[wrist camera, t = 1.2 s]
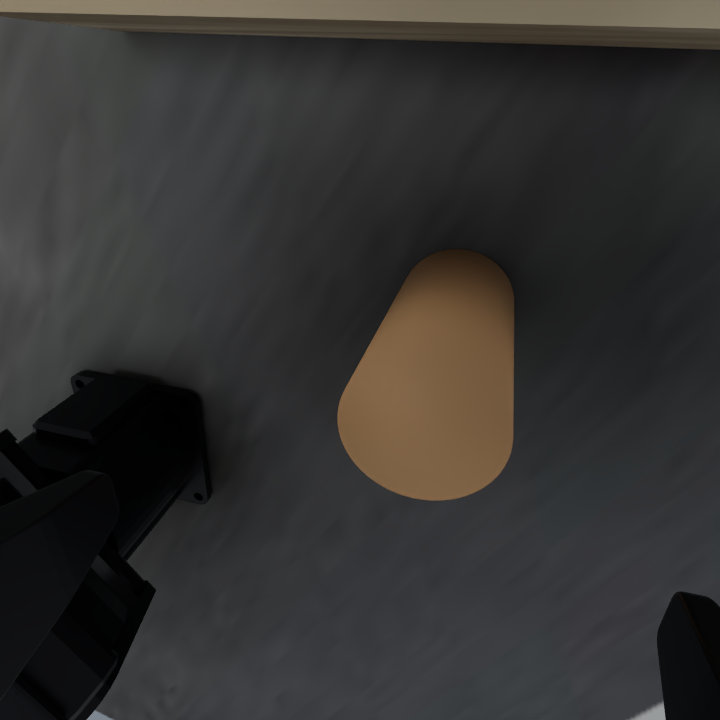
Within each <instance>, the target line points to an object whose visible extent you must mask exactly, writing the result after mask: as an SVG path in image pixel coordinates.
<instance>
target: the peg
mask: <svg viewBox="0 0 720 720" xmlns="http://www.w3.org/2000/svg"><path fill="white" fill-rule="evenodd" d="M513 410H514V294H513V289H512V286H511V283H510V281H509V279H508V277H507V276H506V274H505V273H504V271H503V270H502V269H501V268H500V267H499V266H498V265H497V264H496V263H495V262H494V261H493V260H491V259H489V258H488V257H486V256H484V255H482V254H480V253H477V252H474V251H471V250H465V249H448V250H443V251H439V252H436V253H434V254H431V255H430V256H428V257H426V258H424V259H423V260H421V261H420V262H419V263H418V264H417V265H416V266H415V267H414V268H413V269H412V270H411V272H410V273H409V275H408V276H407V278H406V280H405V282H404V283H403V285H402V287H401V289H400V291H399V292H398V294H397V296H396V298H395V300H394V301H393V303H392V305H391V307H390V309H389V310H388V312H387V314H386V316H385V318H384V319H383V321H382V323H381V325H380V327H379V328H378V330H377V332H376V334H375V336H374V338H373V339H372V341H371V343H370V345H369V347H368V348H367V350H366V352H365V354H364V356H363V357H362V359H361V361H360V363H359V365H358V366H357V368H356V370H355V372H354V374H353V375H352V377H351V379H350V381H349V383H348V384H347V386H346V388H345V390H344V392H343V394H342V397H341V399H340V403H339V407H338V415H337V420H338V429H339V434H340V437H341V440H342V443H343V445H344V447H345V449H346V451H347V453H348V455H349V456H350V458H351V459H352V461H353V462H354V463H355V464H356V465H357V466H358V468H359V469H360V470H361V471H362V472H364V473H365V474H366V475H367V476H368V477H369V478H371V479H372V480H373V481H375V482H376V483H378V484H379V485H381V486H383V487H384V488H387V489H389V490H391V491H393V492H395V493H398V494H401V495H403V496H407V497H411V498H415V499H421V500H433V501H439V500H450V499H457V498H460V497H464V496H467V495H470V494H472V493H475V492H477V491H479V490H480V489H482V488H484V487H485V486H487V485H488V484H489V483H491V482H492V481H493V480H494V479H495V478H496V477H497V476H498V475H499V474H500V473H501V471H502V470H503V468H504V467H505V465H506V463H507V461H508V459H509V457H510V454H511V450H512V445H513Z"/></svg>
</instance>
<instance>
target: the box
mask: <svg viewBox="0 0 720 720" xmlns="http://www.w3.org/2000/svg"><path fill="white" fill-rule="evenodd" d="M0 16H4V17H12V18H20V19H28V20H36V21H44V22H52V23H60V24H68V25H76V26H84V27H92V28H100V29H108V30H116V31H131V32H164V33H196V34H228V35H260V36H293V37H325V38H357V39H390V40H422V41H454V42H486V43H519V44H551V45H583V46H615V47H648V48H680V49H712V50H720V0H0Z"/></svg>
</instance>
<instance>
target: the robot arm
mask: <svg viewBox="0 0 720 720" xmlns="http://www.w3.org/2000/svg"><path fill="white" fill-rule="evenodd" d="M71 385H72V388H73V392H74V394H73V395H71V396H70V397H69V398H67V399H66V400H64V401H63V402H62V403H60V404H59V405H57V406H56V407H55V408H53V409H52V410H50V411H49V412H48V413H46V414H45V415H43V416H42V417H40V418H39V419H38V420H37V421H36V422H35V423H34V424H33V430H34V432H33V433H31V434H30V435H28V436H27V437H26V438H24V439H23V440H22V441H20V442H19V443H16V442H15V441H16V440H17V439H16V438H15V437H14V436H13V434H12V433H11V432H10V431H9V430H8V429H5V430H4V431H2V432H0V720H86V719H87V718H88V717H89V716H90V715H91V714H92V713H93V711H94V710H95V709H96V708H97V706H98V705H99V704H100V703H101V701H102V700H103V698H104V697H105V695H106V694H107V692H108V691H109V689H110V688H111V686H112V684H113V682H114V680H115V679H116V677H117V675H118V673H119V670H120V668H121V666H122V664H123V662H124V659H125V657H126V655H127V653H128V651H129V648H130V646H131V644H132V642H133V640H134V638H135V635H136V633H137V631H138V629H139V627H140V624H141V622H142V620H143V618H144V616H145V614H146V611H147V609H148V607H149V605H150V603H151V600H152V598H153V596H154V594H155V592H156V589H155V588H154V587H153V586H152V585H151V584H150V583H149V582H148V581H147V580H146V581H144V580H143V579H142V578H141V577H140V576H139V574H138V573H137V572H136V571H135V570H134V569H133V568H132V567H131V566H130V565H129V564H128V563H127V562H126V561H127V560H128V559H129V557H130V556H131V555H132V554H133V552H134V551H135V550H136V549H137V547H138V546H139V545H140V544H141V543H142V541H143V540H144V539H145V538H146V536H147V535H148V534H149V533H150V531H151V530H152V529H153V528H154V526H155V525H156V524H157V523H158V522H159V520H160V519H161V518H162V517H163V515H164V514H165V513H166V512H167V510H168V509H169V508H170V507H171V505H172V504H173V503H174V502H175V501H176V499H180V500H184V501H188V502H192V503H197V504H206V503H207V501H208V500H209V499H210V497H211V494H212V493H211V485H210V477H209V469H208V461H207V454H206V446H205V438H204V430H203V423H202V415H201V407H200V401H199V398H198V397H197V395H196V394H194V393H193V392H191V391H187V390H182V389H176V388H171V387H166V386H160V385H155V384H150V383H147V382H142V381H137V380H131V379H126V378H120V377H115V376H110V375H104V374H102V375H101V374H96V373H90V372H85V371H80V372H79V373H77V374H75V375H74V376H72V378H71ZM185 400H186V401H188V402H189V404H188V403H187V402H186V401H185ZM657 648H658V657H659V665H660V674H661V683H662V691H663V700H664V709H665V717H666V720H720V607H719V606H718V604H717V603H716V602H714V601H713V600H712V599H710V598H709V597H706V596H702V595H697V594H692V593H687V592H677V593H675V594H674V595H673V597H672V599H671V601H670V603H669V606H668V608H667V610H666V612H665V615H664V617H663V619H662V621H661V624H660V626H659V629H658V634H657Z"/></svg>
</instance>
